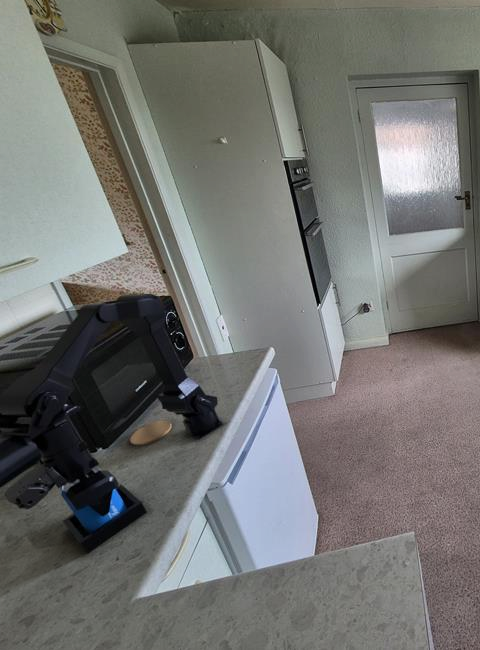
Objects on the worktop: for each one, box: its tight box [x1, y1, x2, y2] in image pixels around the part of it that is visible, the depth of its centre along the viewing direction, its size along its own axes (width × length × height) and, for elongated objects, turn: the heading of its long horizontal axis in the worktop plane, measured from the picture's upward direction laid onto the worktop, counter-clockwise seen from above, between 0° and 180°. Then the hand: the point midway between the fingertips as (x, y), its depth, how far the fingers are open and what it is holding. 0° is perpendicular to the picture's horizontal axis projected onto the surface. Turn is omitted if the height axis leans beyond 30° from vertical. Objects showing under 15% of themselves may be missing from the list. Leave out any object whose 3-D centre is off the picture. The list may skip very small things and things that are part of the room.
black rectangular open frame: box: [62, 484, 148, 554], centre depth 77 cm, size 10×10×3 cm
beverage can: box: [60, 466, 128, 535], centre depth 75 cm, size 6×6×12 cm
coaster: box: [129, 419, 173, 447], centre depth 102 cm, size 9×9×1 cm
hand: (98, 506), depth 75 cm, fingers closed on beverage can, 7 cm apart
